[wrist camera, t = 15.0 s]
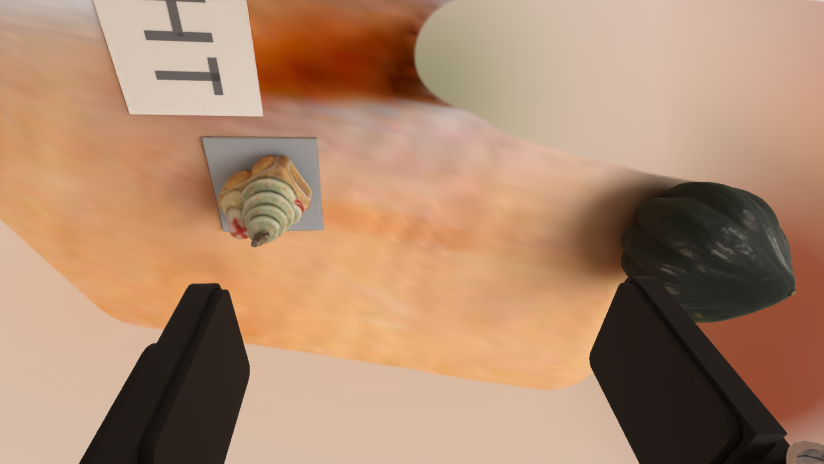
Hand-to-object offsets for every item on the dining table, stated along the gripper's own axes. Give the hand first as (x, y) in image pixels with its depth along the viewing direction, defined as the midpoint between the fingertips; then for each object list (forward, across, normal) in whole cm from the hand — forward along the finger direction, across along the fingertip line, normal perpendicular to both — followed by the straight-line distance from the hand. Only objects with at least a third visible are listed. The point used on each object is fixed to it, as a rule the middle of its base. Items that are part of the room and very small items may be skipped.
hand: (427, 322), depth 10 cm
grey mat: (+30, +12, +12) cm, 35 cm away
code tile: (+30, +17, 0) cm, 34 cm away
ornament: (+30, +12, +12) cm, 34 cm away
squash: (+32, -32, +18) cm, 49 cm away
